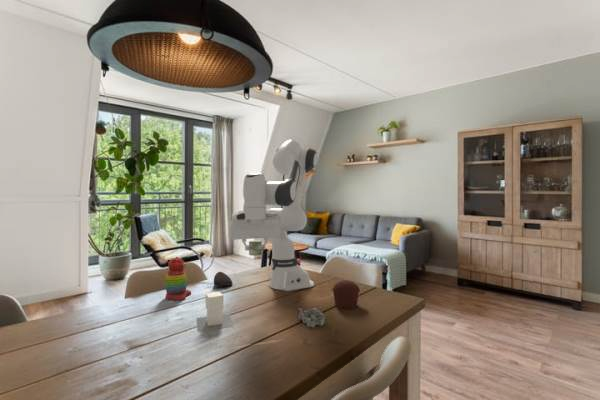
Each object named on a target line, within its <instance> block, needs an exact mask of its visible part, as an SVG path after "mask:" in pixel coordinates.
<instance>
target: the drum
mask: <svg viewBox="0 0 600 400" xmlns="http://www.w3.org/2000/svg"><path fill="white" fill-rule="evenodd" d="M262 243H263V241H262V240H249V241H248V245H249V250H248V255H249V256H262V254H263V252H262V251H263V249H262Z"/></svg>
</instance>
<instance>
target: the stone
mask: <svg viewBox="0 0 600 400" xmlns="http://www.w3.org/2000/svg"><path fill="white" fill-rule="evenodd" d="M233 285H234V284H233V281H232V278H231V277H230V276H229V275H228V274H226V273H224V272H222V271H218V272H216V273H215V275H214V277H213V287H215V288H221V287H222V286H224V287H227V286H233Z"/></svg>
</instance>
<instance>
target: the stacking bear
mask: <svg viewBox="0 0 600 400" xmlns="http://www.w3.org/2000/svg"><path fill="white" fill-rule="evenodd" d="M167 265H168V270H169V271H167V273H166V276H165V280H164V288H165V291H166V294H165V299H166V300H169V301H173V302H175V301H177V302H178V301H184V300H186V298H187V297H188V296H190V295H191V294H192V291H191V290H189V289H187V285H188V277H187V274H186V271H185V270H184V269H185V267H186V266H187V265H186V262H185V261H184V260H183V259H182V258H181V257H179V256H175V257H173V258H171V259H169V261H168V264H167Z"/></svg>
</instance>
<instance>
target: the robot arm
mask: <svg viewBox="0 0 600 400" xmlns="http://www.w3.org/2000/svg"><path fill="white" fill-rule="evenodd" d="M318 158H319V157H318V152H317V151H316V149H313V148H307V147H303V146H301V144H300V143H299V142H298V141H296V140H293V139H289V140H288V139H287V140H286V141H285V142H284V143H282V145H280V146H279V147H278V148H277V149H276V151H275V154H274V155H273V159H272V165H273V167H274V169H275V170H276V171H277V172H278V173H279V174H281V175H283V176H285V177H284V179H283V180H281V181H268V180H266V178H265V174H264V173H261V172H254V173H247V174H246V175H244V179H243V187H242V193H243V194H242V196H243V197H242V198H243V200H244V201H243V202H244V203H243V205H242V208H243V209H242V210H240V211H239V210H238V211H237V212H234V213H232V214H231V221H230V222H229V227H228V238H229V239H230V240H231V241H232V240H234V241H235V240H241V241H242V244H243V246H244V250H245V251H246V252H247V251H249V244H248V245H247V243H246V242H247V240H249V239H250V240H251V239H263V240H264V241H263V242H262V243H263V244H262V250H266V249H267V247H266V245H267V244H268V242H269V238H270V241H271V250H272V251H271V253H272V255H271V256H272V257H271V261H270V263H271V265H270V266H271V277H270V281H269V284H268V285H269V288H271V289H275V290H280V291H284V292H285V291H286V292H291V291H296V290H297V291H298V290H301V289H302V290H303V289H307V288H313V287H314V286H315V283H314V281H313V280H311V278H310V275H309V273H308V271H307V270H306V269H304V268H303V267H302V266H300V265H299V264H301V263H302V260H301V259H300V258H297V257H295V241H294V240H293V239H291V237H290V236H289V235H288V234H287V231H289V232H296V231H302V230H303V229H304V228H305V227H306V226H307V223H308V215H307V214H306V212H305V211H304V210H303V208H302V207H301V206H302V205H301V201H302V200H301V199H302V195H303V191H304V188H305V187H304V186H305V182H306V177H307V175H306V173H310V171H311V170H313V169H314V168H315V167H316V166H317V163H318ZM267 206H280V207H281V206H283V207H282V208H279V207H278V208H277V207H272V208H267Z"/></svg>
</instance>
